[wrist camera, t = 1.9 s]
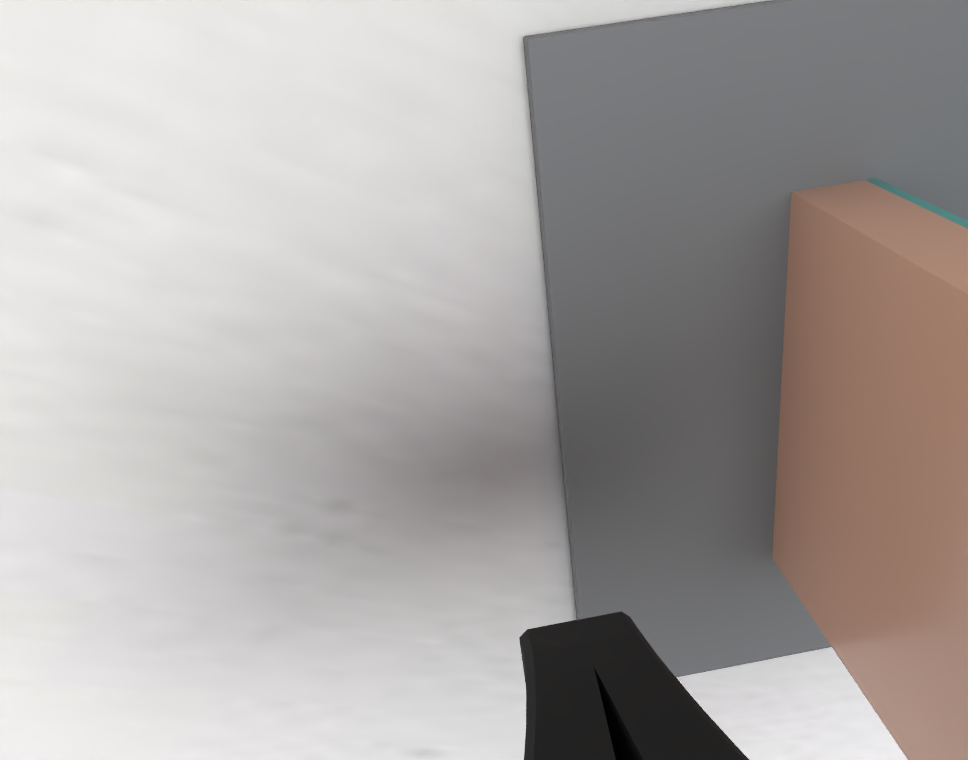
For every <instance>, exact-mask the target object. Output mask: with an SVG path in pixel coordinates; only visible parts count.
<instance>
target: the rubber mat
mask: <svg viewBox="0 0 968 760" xmlns="http://www.w3.org/2000/svg"><path fill="white" fill-rule="evenodd" d="M523 38H524V49H525V60H526V71H527V82H528V93H529V104H530V115H531V126H532V137H533V147H534V158H535V169H536V180H537V191H538V202H539V213H540V224H541V235H542V245H543V256H544V267H545V278H546V289H547V300H548V311H549V322H550V333H551V344H552V354H553V365H554V376H555V387H556V398H557V409H558V420H559V431H560V442H561V452H562V463H563V474H564V485H565V496H566V507H567V518H568V529H569V540H570V551H571V561H572V572H573V583H574V594H575V605H576V616H577V620H579V619H584V618H589V617H595V616H600V615H605V614H610V613H615V612H620V611H622V612H623V613H625V614H627V615H628V616H630V617H631V619H632V620H633V622H634V623H635V625H636V626H637V628H638V629H639V630H640V632H641V633H642V635H643V636H644V637H645V639H646V640H647V641H648V643H649V644H650V645H651V647H652V648H653V649H654V651H655V652H656V653H657V655H658V656H659V657H660V658H661V660H662V661H663V662H664V663H665V665H666V666H667V667H668V669H669V670H670V671H671V672H672V673H673V675H674V676H675V677H680V676H685V675H690V674H695V673H701V672H706V671H711V670H716V669H721V668H726V667H731V666H736V665H741V664H746V663H751V662H757V661H762V660H767V659H772V658H777V657H782V656H787V655H792V654H797V653H802V652H807V651H813V650H818V649H823V648H828V647H832V646H831V645H830V643H829V642H828V640H827V639H826V637H825V636H824V634H823V633H822V631H821V630H820V629H819V627H818V626H817V624H816V623H815V621H814V620H813V618H812V617H811V615H810V614H809V612H808V611H807V609H806V608H805V606H804V605H803V603H802V602H801V600H800V599H799V597H798V596H797V594H796V593H795V591H794V590H793V588H792V587H791V585H790V584H789V583H788V581H787V580H786V578H785V577H784V575H783V574H782V572H781V571H780V569H779V568H778V566H777V565H776V563H775V562H774V560H773V559H772V554H773V534H774V515H775V496H776V477H777V458H778V438H779V419H780V400H781V381H782V362H783V342H784V323H785V304H786V285H787V265H788V246H789V227H790V208H791V192H794V191H800V190H806V189H813V188H819V187H825V186H831V185H837V184H844V183H850V182H856V181H862V180H869V179H875V178H876V179H879V180H881V181H883V182H885V183H887V184H890V185H892V186H894V187H896V188H898V189H900V190H903V191H905V192H907V193H909V194H911V195H913V196H916V197H918V198H920V199H922V200H924V201H926V202H929V203H931V204H933V205H935V206H937V207H939V208H942V209H944V210H946V211H948V212H950V213H953V214H955V215H957V216H959V217H961V218H963V219H966V220H968V0H772V1H765V2H758V3H751V4H744V5H737V6H731V7H724V8H717V9H710V10H703V11H696V12H689V13H683V14H676V15H669V16H662V17H655V18H648V19H641V20H635V21H628V22H621V23H614V24H607V25H600V26H593V27H587V28H580V29H573V30H566V31H559V32H552V33H545V34H539V35H532V36H525V37H523Z"/></svg>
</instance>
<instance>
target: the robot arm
mask: <svg viewBox="0 0 968 760" xmlns="http://www.w3.org/2000/svg"><path fill="white" fill-rule="evenodd" d="M520 646H521V653H522V660H523V667H524V675H525V682H526V696H527V698H526V739H525V754H524V760H749V759H748V758H747V757H746V756H745V755H744V754H743V753H742V752H741V751H740V750H739V749H738V747H737V746H736V745H735V744H734V743H733V742H732V741H731V740H730V739H729V738H728V737H727V735H726V734H725V733H724V732H723V731H722V730H721V729H720V728H719V727H718V726H717V724H716V723H715V722H714V721H713V720H712V719H711V718H710V717H709V716H708V715H707V713H706V712H705V711H704V710H703V709H702V708H701V707H700V706H699V704H698V703H697V702H696V701H695V700H694V699H693V697H692V696H691V695H690V694H689V693H688V692H687V690H686V689H685V688H684V687H683V686H682V684H681V683H680V682H679V681H678V679H677V678H676V677H675V676H674V675H673V673H672V672H671V671H670V670H669V669H668V667H667V666H666V665H665V663H664V662H663V661H662V660H661V658H660V657H659V656H658V655H657V653H656V652H655V651H654V649H653V648H652V647H651V645H650V644H649V643H648V641H647V640H646V639H645V637H644V636H643V635H642V633H641V632H640V630H639V629H638V628H637V626H636V625H635V623H634V622H633V620H632V619H631V617H630V616H628V615H627V614H625V613H623V612H622V611H620V612H615V613H610V614H605V615H600V616H595V617H589V618H584V619H579V620H574V621H569V622H564V623H558V624H553V625H548V626H543V627H538V628H532V629H527V631H526V632H525V633H524V634H523V635H522V636H521V637H520Z"/></svg>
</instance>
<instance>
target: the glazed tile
mask: <svg viewBox="0 0 968 760" xmlns="http://www.w3.org/2000/svg"><path fill="white" fill-rule="evenodd" d="M772 559H773V560H774V562H775V563H776V565H777V566H778V568H779V569H780V571H781V572H782V574H783V575H784V577H785V578H786V580H787V581H788V583H789V584H790V585H791V587H792V588H793V590H794V591H795V593H796V594H797V596H798V597H799V599H800V600H801V602H802V603H803V605H804V606H805V608H806V609H807V611H808V612H809V614H810V615H811V617H812V618H813V620H814V621H815V623H816V624H817V626H818V627H819V629H820V630H821V631H822V633H823V634H824V636H825V637H826V639H827V640H828V642H829V643H830V645H831V646H832V648H833V649H834V651H835V652H836V654H837V655H838V657H839V658H840V660H841V661H842V663H843V664H844V666H845V667H846V669H847V670H848V672H849V673H850V674H851V676H852V677H853V679H854V680H855V682H856V683H857V685H858V686H859V688H860V689H861V691H862V692H863V694H864V695H865V697H866V698H867V700H868V701H869V703H870V704H871V706H872V707H873V709H874V710H875V712H876V713H877V715H878V716H879V718H880V719H881V720H882V722H883V723H884V725H885V726H886V728H887V729H888V731H889V732H890V734H891V735H892V737H893V738H894V740H895V741H896V743H897V744H898V746H899V747H900V749H901V750H902V752H903V753H904V755H905V756H906V758H907V759H908V760H968V220H966V219H963V218H961V217H959V216H957V215H955V214H953V213H950V212H948V211H946V210H944V209H942V208H939V207H937V206H935V205H933V204H931V203H929V202H926V201H924V200H922V199H920V198H918V197H916V196H913V195H911V194H909V193H907V192H905V191H903V190H900V189H898V188H896V187H894V186H892V185H890V184H887V183H885V182H883V181H881V180H879V179H876V178H875V179H869V180H862V181H856V182H850V183H844V184H837V185H831V186H825V187H819V188H813V189H806V190H800V191H794V192H791V208H790V227H789V246H788V265H787V285H786V304H785V323H784V342H783V362H782V381H781V400H780V419H779V438H778V458H777V477H776V496H775V515H774V534H773V554H772Z"/></svg>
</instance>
